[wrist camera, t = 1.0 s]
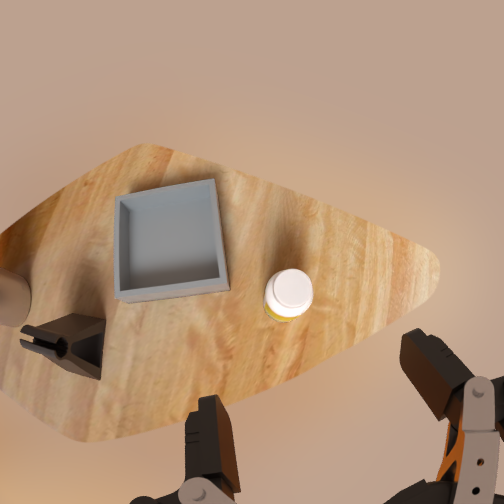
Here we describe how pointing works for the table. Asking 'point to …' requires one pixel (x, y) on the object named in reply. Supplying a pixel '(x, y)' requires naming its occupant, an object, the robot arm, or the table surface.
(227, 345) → the table surface
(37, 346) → the phone stand
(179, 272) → the bin
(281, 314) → the supplement bottle
